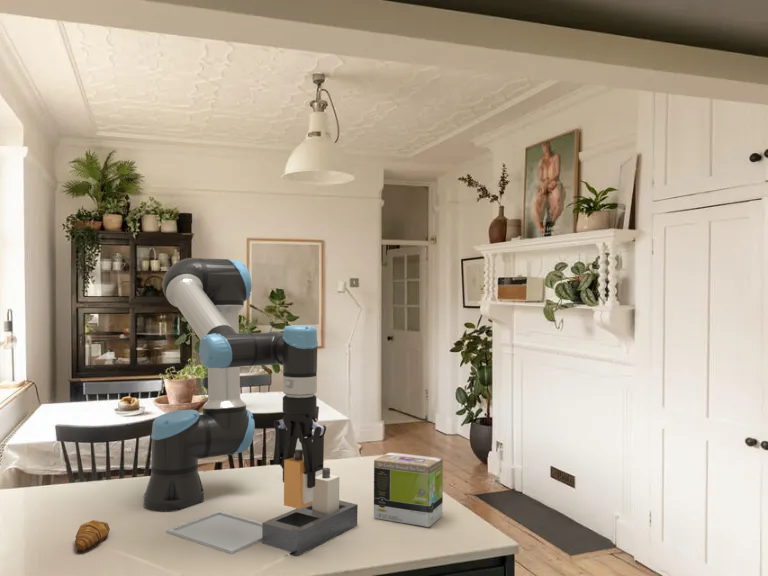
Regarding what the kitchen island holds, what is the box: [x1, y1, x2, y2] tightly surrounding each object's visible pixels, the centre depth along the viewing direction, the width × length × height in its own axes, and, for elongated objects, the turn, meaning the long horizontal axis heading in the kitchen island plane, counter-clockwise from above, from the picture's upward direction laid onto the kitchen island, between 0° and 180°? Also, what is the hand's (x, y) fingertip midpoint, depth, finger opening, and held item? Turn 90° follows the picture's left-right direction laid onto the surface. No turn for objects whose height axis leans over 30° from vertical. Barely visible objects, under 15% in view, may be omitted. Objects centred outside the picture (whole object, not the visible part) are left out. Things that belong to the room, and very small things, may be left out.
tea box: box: [373, 451, 444, 528], centre depth 160 cm, size 15×10×15 cm, turn 65°
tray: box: [165, 510, 264, 555], centre depth 147 cm, size 21×16×1 cm
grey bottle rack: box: [261, 499, 359, 557], centre depth 147 cm, size 10×22×5 cm, turn 147°
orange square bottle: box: [283, 449, 313, 509], centre depth 143 cm, size 4×4×12 cm
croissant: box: [74, 519, 111, 554], centre depth 142 cm, size 14×7×5 cm, turn 2°
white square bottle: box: [312, 467, 340, 514], centre depth 152 cm, size 4×4×12 cm
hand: (298, 499), depth 143 cm, fingers closed on orange square bottle, 4 cm apart
